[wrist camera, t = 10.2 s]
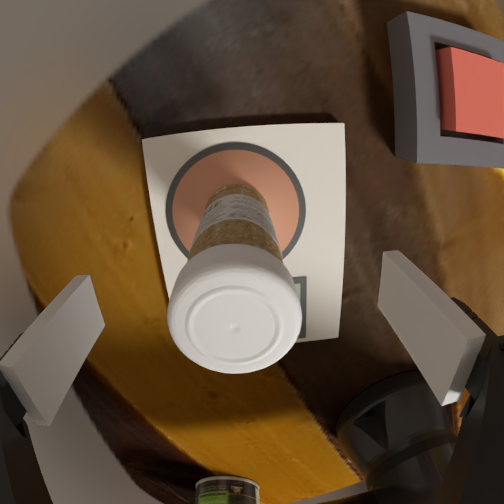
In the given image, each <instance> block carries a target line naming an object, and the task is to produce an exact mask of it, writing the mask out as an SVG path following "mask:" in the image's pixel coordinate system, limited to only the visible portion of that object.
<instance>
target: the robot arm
mask: <svg viewBox="0 0 504 504" xmlns="http://www.w3.org/2000/svg"><path fill="white" fill-rule="evenodd" d="M378 307H379V309H380V310H381V312H382V313H383V315H384V316H385V318H386V319H387V321H388V322H389V324H390V325H391V327H392V328H393V330H394V331H395V333H396V334H397V336H398V337H399V339H400V340H401V342H402V343H403V345H404V346H405V348H406V350H407V351H408V353H409V354H410V356H411V357H412V359H413V361H414V362H415V364H416V365H417V367H418V368H419V370H418V371H410V372H405V373H401V374H398V375H395V376H392V377H390V378H387V379H385V380H383V381H381V382H379V383H377V384H375V385H373V386H372V387H370V388H368V389H367V390H365V391H364V392H362V393H361V394H360V395H358V396H357V397H356V398H355V399H354V400H352V401H351V402H350V403H349V404H348V405H347V406H346V408H345V409H344V410H343V411H342V413H341V414H340V416H339V418H338V420H337V423H336V433H337V437H338V441H339V444H340V446H341V448H342V450H343V451H344V452H345V454H346V455H347V456H348V458H349V459H350V460H351V461H352V463H353V464H354V465H355V467H356V468H357V469H358V470H359V472H360V473H361V474H362V476H363V477H364V479H365V482H366V486H367V489H368V492H365V493H361V494H358V495H354V496H350V497H346V498H341V499H337V500H333V501H328V502H323V503H318V504H504V336H503V335H502V336H497V335H496V334H495V333H494V332H493V331H492V330H491V329H490V328H489V327H488V326H487V325H486V324H485V323H484V322H483V321H482V320H481V319H480V318H478V316H477V315H476V314H475V313H474V312H472V310H471V309H470V308H469V307H468V306H467V305H466V304H465V303H463V302H461V301H460V300H458V299H456V298H454V297H453V298H449V297H448V296H447V295H446V294H445V293H444V292H443V291H442V290H441V289H440V288H439V287H438V286H437V285H436V284H435V283H434V282H433V281H431V280H430V279H429V278H428V277H427V276H426V275H425V274H424V273H423V272H422V271H421V270H420V269H419V268H417V267H416V266H415V265H414V264H413V263H412V262H411V261H410V260H409V259H407V258H406V257H405V256H404V255H403V254H402V253H401V252H400V251H398V250H397V251H386V252H383V260H382V271H381V281H380V290H379V298H378ZM104 327H105V323H104V320H103V317H102V314H101V311H100V308H99V305H98V302H97V298H96V295H95V292H94V288H93V285H92V281H91V278H90V275H77V276H75V277H74V278H73V279H72V280H71V281H70V282H69V284H68V285H67V286H66V287H65V288H64V289H63V290H62V291H61V292H60V293H59V294H58V295H57V296H56V297H55V298H54V299H53V300H52V302H51V303H50V304H49V305H48V306H47V307H46V308H45V309H44V310H43V311H42V313H41V314H40V315H39V316H38V317H37V318H36V319H35V320H34V322H33V323H32V324H31V325H30V326H29V327H28V328H27V330H26V331H25V332H23V333H22V334H20V335H19V337H18V338H17V339H16V340H15V341H14V344H12V345H11V346H10V348H9V350H7V351H6V352H5V353H4V355H3V356H2V357H1V358H0V504H53V502H52V500H51V498H50V495H49V493H48V490H47V487H46V485H45V482H44V479H43V476H42V473H41V470H40V467H39V464H38V461H37V458H36V455H35V452H34V448H33V445H32V441H31V437H30V434H29V430H28V426H27V424H26V422H25V420H24V419H23V417H24V415H25V413H26V412H27V413H28V415H29V416H30V418H31V419H32V420H33V422H34V423H37V424H41V425H45V426H50V424H51V423H52V421H53V418H54V417H55V415H56V413H57V411H58V409H59V407H60V405H61V403H62V401H63V399H64V397H65V395H66V393H67V392H68V390H69V388H70V386H71V384H72V382H73V381H74V379H75V377H76V375H77V373H78V372H79V370H80V368H81V366H82V364H83V363H84V361H85V359H86V357H87V356H88V354H89V352H90V350H91V349H92V347H93V345H94V344H95V342H96V340H97V338H98V337H99V335H100V333H101V332H102V330H103V328H104ZM465 388H466V389H467V390H468V392H469V393H470V396H469V398H468V400H467V402H466V404H465V406H464V408H463V410H462V412H461V414H460V416H459V417H462V416H463V419H462V423H461V427H460V431H459V434H458V436H457V434H456V432H455V425H454V418H453V411H452V405H451V403H453V402H456V401H458V400H460V397H461V395H462V393H463V391H464V389H465ZM463 414H464V415H463Z"/></svg>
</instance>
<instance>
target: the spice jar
mask: <svg viewBox="0 0 504 504" xmlns="http://www.w3.org/2000/svg"><path fill="white" fill-rule="evenodd" d="M282 258H283V257H282V253H281V249H280V246H279V243H278V240H277V236H276V233H275V229H274V226H273V223H272V220H271V217H270V215H269V209H268V206H267V203H266V200H265V199H264V197H263V196H262V195H261V194H260V193H259V192H258V191H257V190H256V189H255V188H253V187H250V186H248V185H246V184H230V185H226V186H223V187H221V188H220V189H218V190H217V191H216V192H214V194H213V195H212V196H211V197H210V198H209V200H208V202H207V204H206V207H205V212H204V214H203V216H202V219H201V221H200V224H199V226H198V229H197V231H196V234H195V236H194V240H193V242H192V245H191V248H190V251H189V256H188V260H187V263H186V264H185V265H184V267H183V268H182V269H181V271H180V273H179V274H178V277H177V279H176V281H175V284H174V287H173V290H172V293H171V297H170V300H169V304H168V310H167V322H168V328H169V331H170V334H171V336H172V339H173V341H174V342H175V344H176V345H177V347H178V348H179V349H180V350H181V351H182V353H183V354H184V355H186V356H187V357H188V358H189V359H190V360H192V361H193V362H195V363H197V364H198V365H200V366H202V367H205V368H207V369H209V370H213V371H217V372H222V373H232V374H237V373H248V372H253V371H257V370H260V369H263V368H266V367H268V366H270V365H271V364H273V363H275V362H276V361H278V360H279V359H281V358H282V357H283V356H284V355H285V354H286V353H287V352H288V351H289V350H290V349H291V347H292V346H293V345H294V343H295V342H296V340H297V337H298V335H299V332H300V329H301V323H302V311H301V305H300V301H299V297H298V293H297V290H296V287H295V284H294V281H293V278H292V276H291V274H290V272H289V271H288V269H287V268H286V267H285V265H284V264H283V261H282Z"/></svg>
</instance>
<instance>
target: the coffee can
mask: <svg viewBox="0 0 504 504" xmlns="http://www.w3.org/2000/svg"><path fill="white" fill-rule="evenodd" d="M195 504H260V502H259V485H258V484H257V483H256V482H254V481H252V480H250V479H246V478H242V477H236V476H212V477H207V478H204V479H201V480H199V481H198V482H197V483H196V494H195Z"/></svg>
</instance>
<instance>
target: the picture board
mask: <svg viewBox="0 0 504 504" xmlns="http://www.w3.org/2000/svg"><path fill="white" fill-rule="evenodd" d="M142 144H143V153H144V160H145V168H146V175H147V182H148V189H149V195H150V202H151V208H152V214H153V220H154V226H155V231H156V237H157V242H158V248H159V253H160V258H161V263H162V268H163V273H164V277H165V282H166V287H167V291H168V296H169V300H170V297H171V293H172V290H173V287H174V284H175V281H176V279H177V277H178V274H179V273H180V271H181V269H182V268H183V267H184V265H185V264H186V263H187V260H188V256H189V251H190V248H191V245H192V242H193V240H194V236H195V234H196V231H197V229H198V226H199V224H200V221H201V219H202V216H203V214H204V212H205V207H206V204H207V202H208V200H209V198H210V197H211V196H212V195H213V194H214V192H216V191H217V190H218V189H220V188H221V187H223V186H226V185H230V184H246V185H248V186H250V187H253V188H255V189H256V190H257V191H258V192H259V193H260V194H261V195H262V196H263V197H264V199H265V200H266V203H267V206H268V209H269V215H270V217H271V220H272V223H273V226H274V229H275V233H276V236H277V240H278V243H279V246H280V249H281V253H282V257H283V258H282V261H283V264H284V265H285V267H286V268H287V269H288V271H289V272H290V274H291V276H292V278H293V281H294V284H295V287H296V290H297V293H298V297H299V301H300V305H301V311H302V323H301V329H300V332H299V335H298V337H297V340H296V342H305V341H314V340H322V339H330V338H338V335H339V324H340V312H341V299H342V285H343V267H344V245H345V206H346V168H345V129H344V123H300V124H275V125H258V126H244V127H232V128H221V129H212V130H203V131H194V132H186V133H179V134H171V135H165V136H158V137H152V138H146V139H142ZM296 342H295V343H296Z"/></svg>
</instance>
